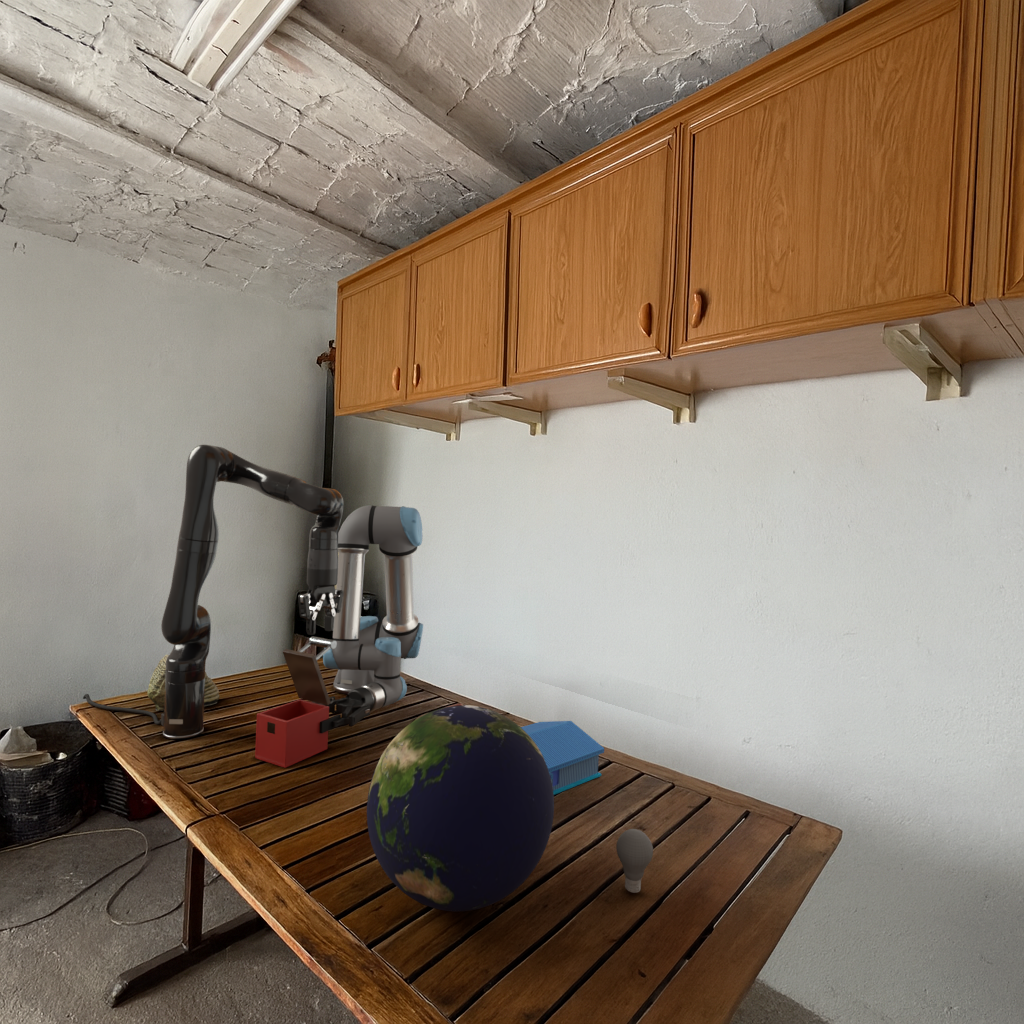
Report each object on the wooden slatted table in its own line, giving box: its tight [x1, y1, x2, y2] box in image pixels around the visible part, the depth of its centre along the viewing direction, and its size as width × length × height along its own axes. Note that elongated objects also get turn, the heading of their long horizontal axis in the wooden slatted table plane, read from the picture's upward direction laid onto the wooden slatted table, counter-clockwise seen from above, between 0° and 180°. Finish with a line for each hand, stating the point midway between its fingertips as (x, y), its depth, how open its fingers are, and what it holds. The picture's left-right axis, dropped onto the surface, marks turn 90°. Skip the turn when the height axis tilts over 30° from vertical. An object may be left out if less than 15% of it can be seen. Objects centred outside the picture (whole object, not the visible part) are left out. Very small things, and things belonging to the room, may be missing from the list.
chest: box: [254, 698, 330, 769], centre depth 155 cm, size 14×10×11 cm
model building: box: [520, 720, 605, 796], centre depth 143 cm, size 39×24×10 cm, turn 132°
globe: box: [366, 704, 555, 913], centre depth 102 cm, size 30×30×30 cm
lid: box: [282, 635, 337, 705], centre depth 162 cm, size 15×10×10 cm
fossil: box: [147, 654, 221, 712], centre depth 185 cm, size 9×18×15 cm, turn 132°
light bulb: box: [615, 828, 654, 894], centre depth 106 cm, size 6×6×10 cm
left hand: (320, 632), depth 161 cm, fingers open, 5 cm apart
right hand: (304, 723), depth 158 cm, fingers closed on chest, 10 cm apart
